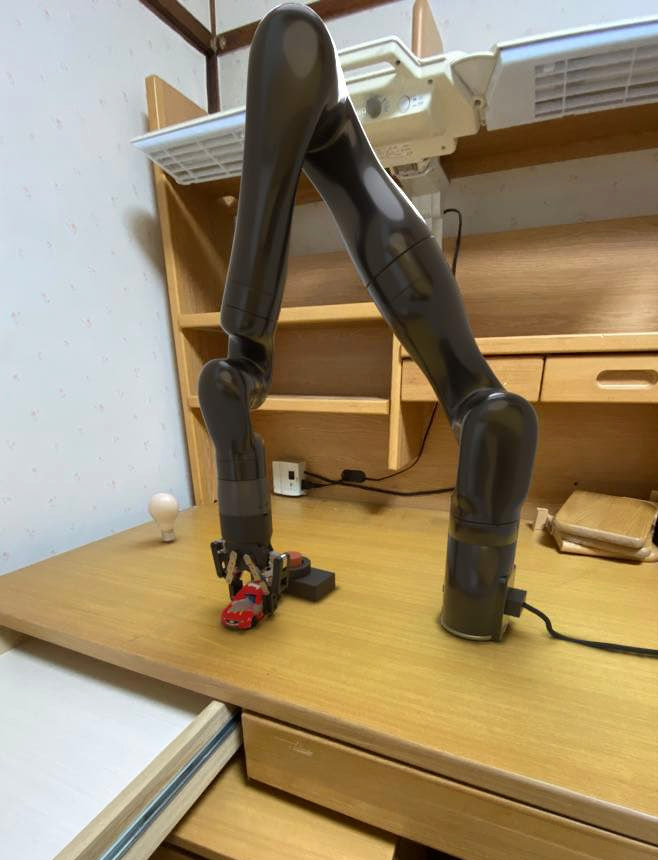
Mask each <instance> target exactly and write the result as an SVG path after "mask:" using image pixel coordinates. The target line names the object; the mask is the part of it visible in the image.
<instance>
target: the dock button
mask: <svg viewBox="0 0 658 860" xmlns="http://www.w3.org/2000/svg"><path fill="white" fill-rule="evenodd" d="M284 553H288V554H289V555H290V567H297V566H300V565H302V556H303V555H302V553H301V552H300V551H296V550H295V551H294V550H289V551H288V550H287V551H285V552H282V553H281V554H284Z"/></svg>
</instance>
